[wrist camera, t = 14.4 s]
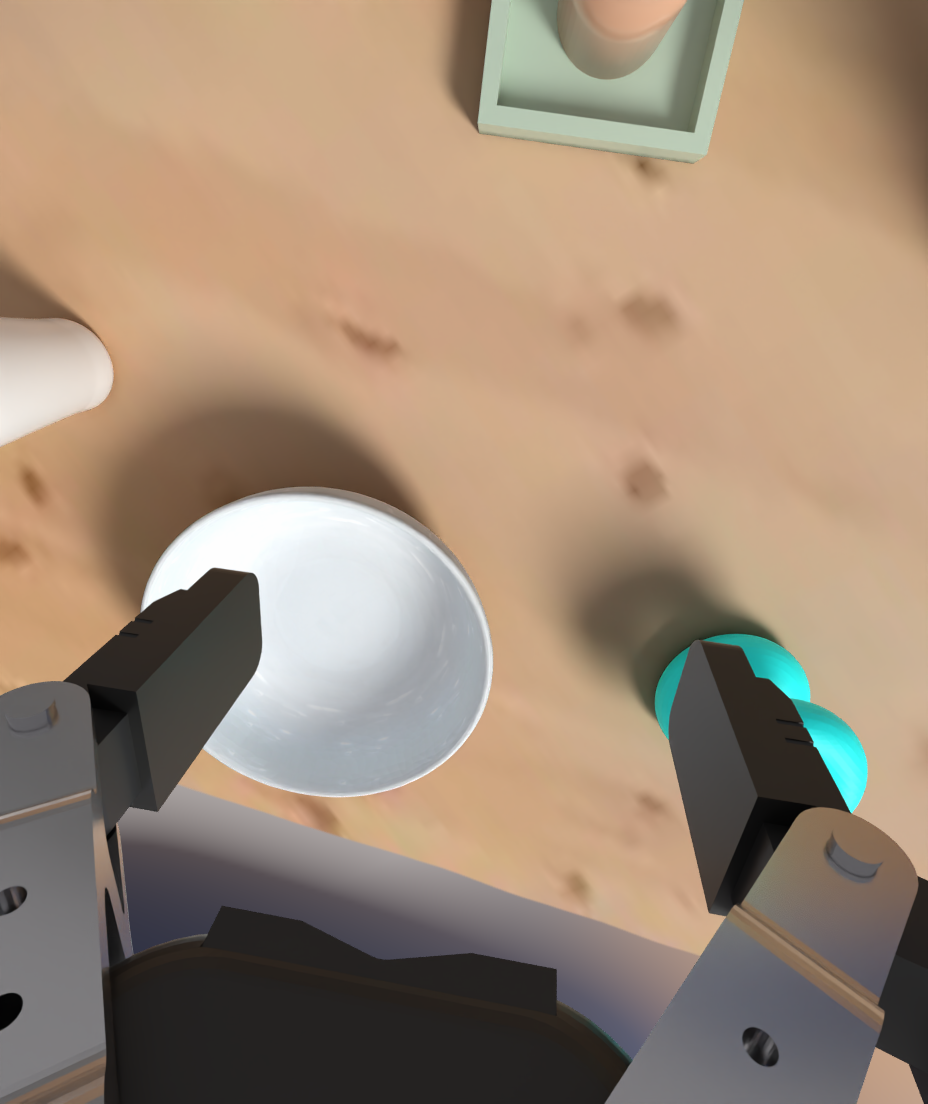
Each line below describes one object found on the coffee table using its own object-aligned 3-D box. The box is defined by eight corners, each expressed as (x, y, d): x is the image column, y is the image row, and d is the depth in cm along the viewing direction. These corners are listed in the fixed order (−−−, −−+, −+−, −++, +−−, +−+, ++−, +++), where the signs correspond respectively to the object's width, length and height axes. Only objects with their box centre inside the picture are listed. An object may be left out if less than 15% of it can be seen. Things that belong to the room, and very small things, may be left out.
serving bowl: (384, 776, 49) (366, 849, 42) (142, 628, 45) (82, 684, 38) (558, 586, 41) (568, 640, 35) (289, 391, 38) (246, 411, 31)
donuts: (654, 782, 35) (819, 687, 32) (622, 679, 44) (748, 598, 41) (750, 885, 37) (912, 806, 34) (701, 767, 46) (825, 697, 44)
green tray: (761, -125, 28) (782, -159, 25) (693, 163, 32) (706, 155, 30) (513, -160, 28) (514, -196, 26) (479, 133, 32) (477, 122, 30)
